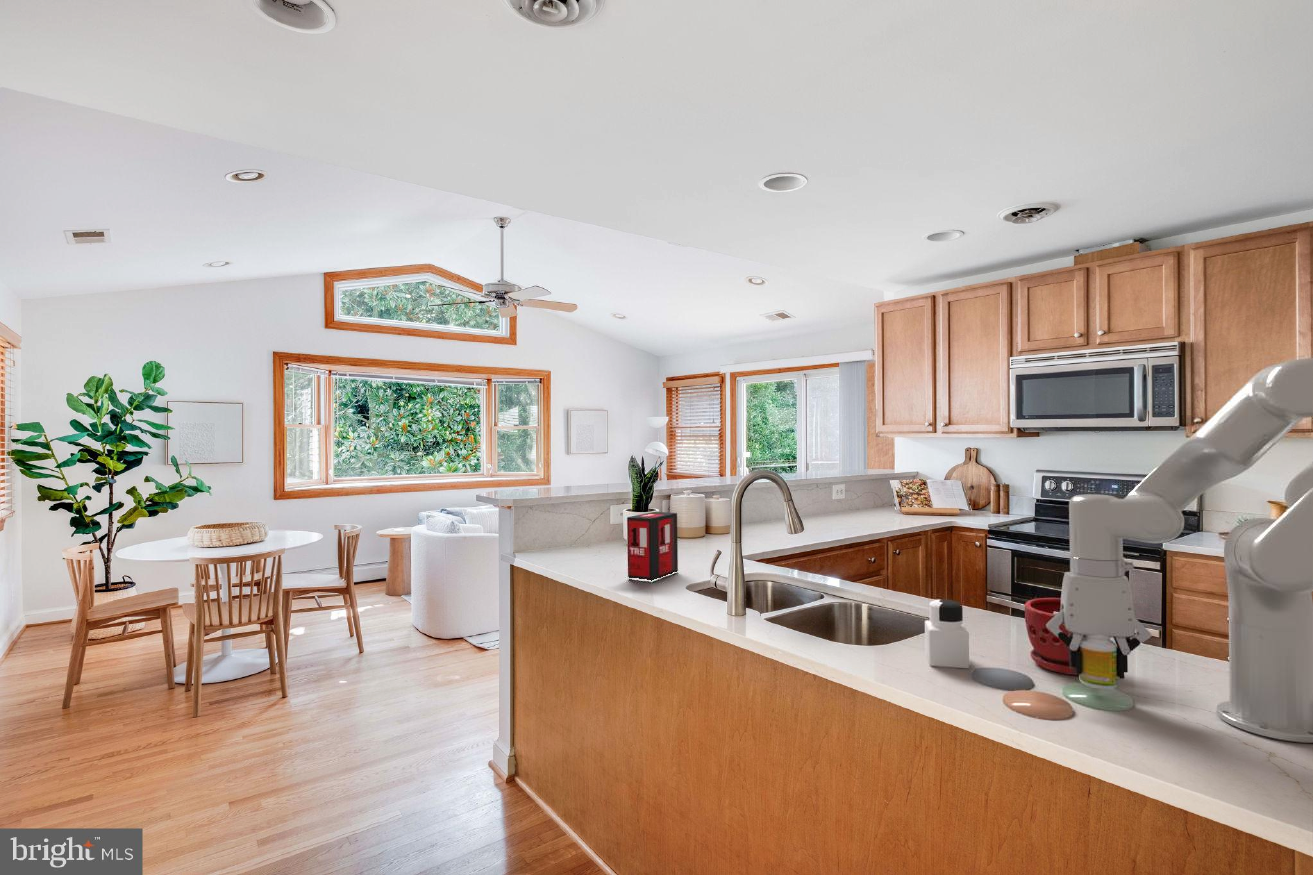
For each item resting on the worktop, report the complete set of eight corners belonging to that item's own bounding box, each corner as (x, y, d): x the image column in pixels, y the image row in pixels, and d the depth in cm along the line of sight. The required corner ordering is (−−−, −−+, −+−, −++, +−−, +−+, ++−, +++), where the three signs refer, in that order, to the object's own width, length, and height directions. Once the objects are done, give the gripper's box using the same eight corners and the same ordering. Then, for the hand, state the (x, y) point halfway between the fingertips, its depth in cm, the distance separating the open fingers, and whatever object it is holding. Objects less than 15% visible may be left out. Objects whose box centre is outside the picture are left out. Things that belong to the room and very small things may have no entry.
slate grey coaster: (1025, 674, 123) (1025, 670, 123) (1039, 694, 113) (1039, 690, 113) (967, 669, 126) (967, 665, 126) (976, 689, 117) (976, 684, 117)
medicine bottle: (962, 657, 132) (961, 598, 132) (969, 669, 125) (968, 607, 125) (924, 654, 134) (924, 596, 134) (929, 666, 127) (928, 605, 127)
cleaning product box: (655, 570, 221) (654, 511, 221) (677, 573, 217) (677, 513, 217) (627, 579, 207) (627, 517, 207) (651, 582, 203) (650, 518, 203)
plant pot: (1018, 653, 134) (1017, 595, 134) (1092, 659, 130) (1091, 599, 130) (1034, 676, 121) (1033, 611, 121) (1116, 683, 117) (1115, 616, 117)
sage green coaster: (1098, 685, 117) (1098, 680, 117) (1149, 710, 107) (1148, 705, 107) (1048, 689, 115) (1048, 685, 115) (1094, 715, 105) (1094, 710, 105)
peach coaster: (1051, 694, 113) (1050, 689, 113) (1086, 720, 103) (1086, 715, 103) (992, 695, 113) (992, 690, 113) (1021, 721, 103) (1021, 716, 103)
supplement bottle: (1119, 692, 107) (1118, 633, 107) (1080, 686, 110) (1079, 629, 110) (1115, 681, 112) (1114, 625, 112) (1078, 676, 114) (1077, 621, 114)
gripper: (1149, 566, 111) (1151, 672, 111) (1034, 560, 117) (1036, 661, 117) (1165, 575, 104) (1167, 688, 104) (1042, 568, 110) (1044, 675, 110)
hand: (1097, 672), depth 111 cm, fingers closed on supplement bottle, 5 cm apart
